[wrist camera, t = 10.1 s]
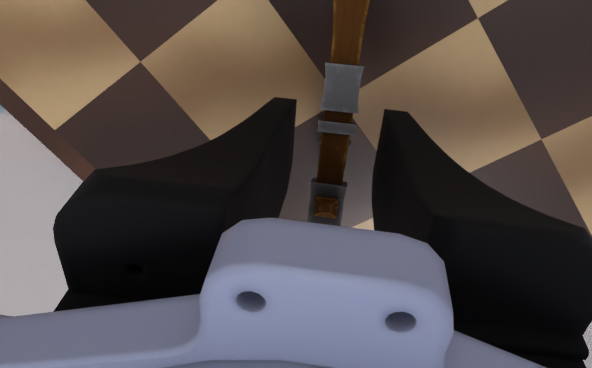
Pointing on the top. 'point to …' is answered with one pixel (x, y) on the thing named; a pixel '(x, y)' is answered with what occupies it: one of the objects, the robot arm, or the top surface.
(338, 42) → the wooden post with brackets
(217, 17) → the chessboard
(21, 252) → the top surface
